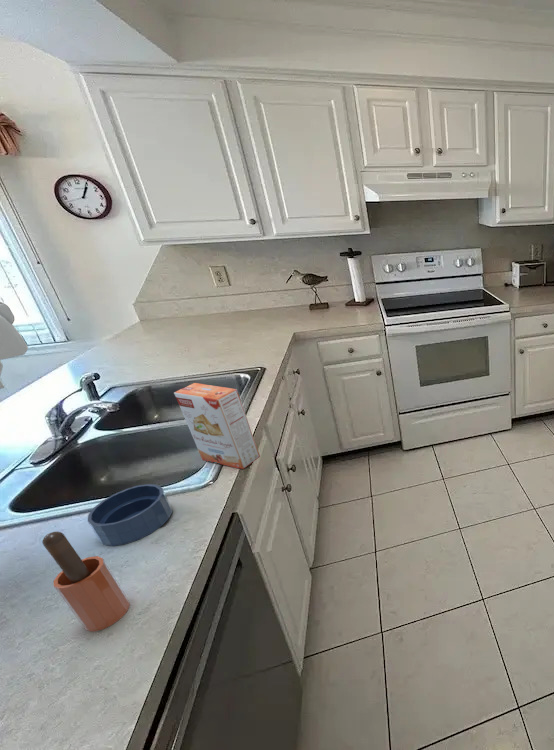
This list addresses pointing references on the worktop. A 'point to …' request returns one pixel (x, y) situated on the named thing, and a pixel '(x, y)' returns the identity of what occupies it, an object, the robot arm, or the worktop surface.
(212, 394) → the cracker box
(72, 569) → the stick
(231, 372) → the worktop surface
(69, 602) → the crock
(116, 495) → the bowl
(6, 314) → the robot arm
